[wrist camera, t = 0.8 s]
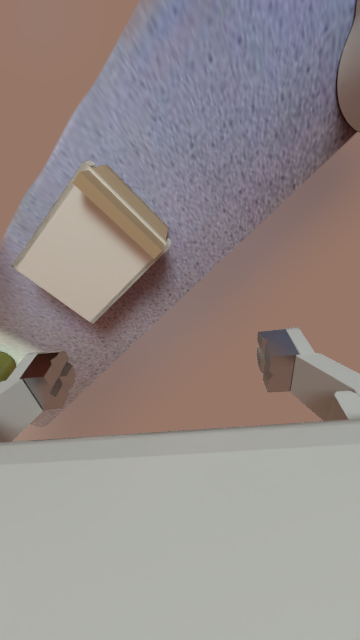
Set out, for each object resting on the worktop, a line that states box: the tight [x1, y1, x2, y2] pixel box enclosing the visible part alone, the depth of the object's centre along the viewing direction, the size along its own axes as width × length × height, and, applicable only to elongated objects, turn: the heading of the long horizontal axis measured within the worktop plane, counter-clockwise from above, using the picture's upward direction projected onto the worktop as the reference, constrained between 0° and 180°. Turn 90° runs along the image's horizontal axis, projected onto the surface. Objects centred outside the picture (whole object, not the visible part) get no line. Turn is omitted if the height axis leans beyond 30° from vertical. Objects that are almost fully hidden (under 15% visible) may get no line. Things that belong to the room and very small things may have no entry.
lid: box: [12, 161, 171, 324], centre depth 36 cm, size 18×14×6 cm
